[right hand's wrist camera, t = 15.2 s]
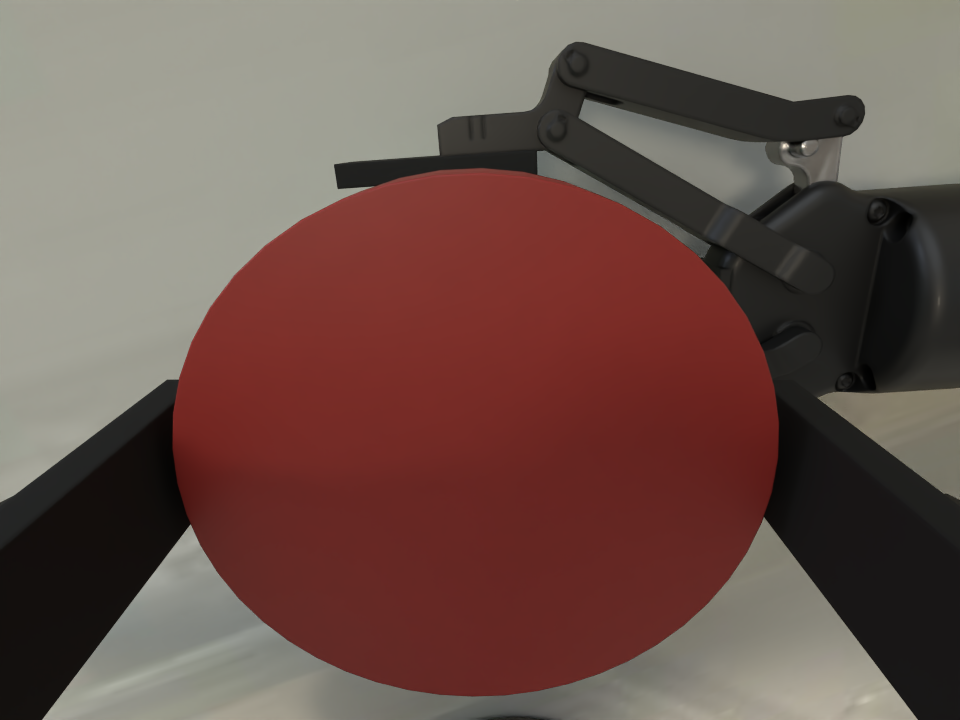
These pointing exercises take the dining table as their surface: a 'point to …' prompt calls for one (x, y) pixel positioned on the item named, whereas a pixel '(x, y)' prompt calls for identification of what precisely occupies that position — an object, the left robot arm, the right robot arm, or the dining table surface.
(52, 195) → the dining table surface
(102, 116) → the dining table surface
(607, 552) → the lid
